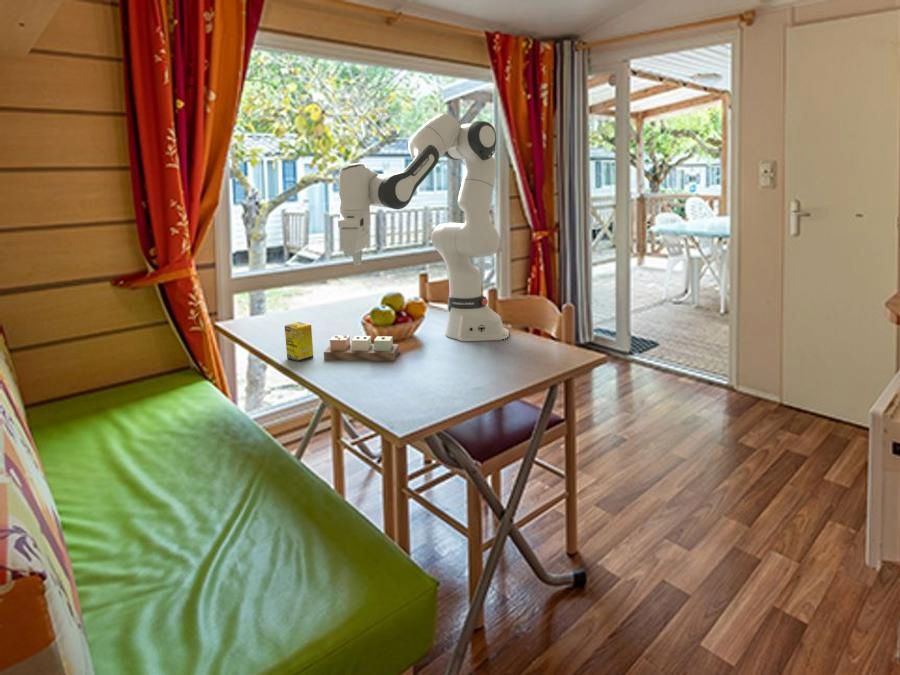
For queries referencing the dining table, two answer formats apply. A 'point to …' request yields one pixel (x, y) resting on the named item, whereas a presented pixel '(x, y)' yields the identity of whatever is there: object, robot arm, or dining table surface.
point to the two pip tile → (361, 343)
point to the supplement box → (299, 341)
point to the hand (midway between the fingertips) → (357, 265)
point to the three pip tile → (340, 342)
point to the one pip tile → (383, 343)
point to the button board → (362, 354)
